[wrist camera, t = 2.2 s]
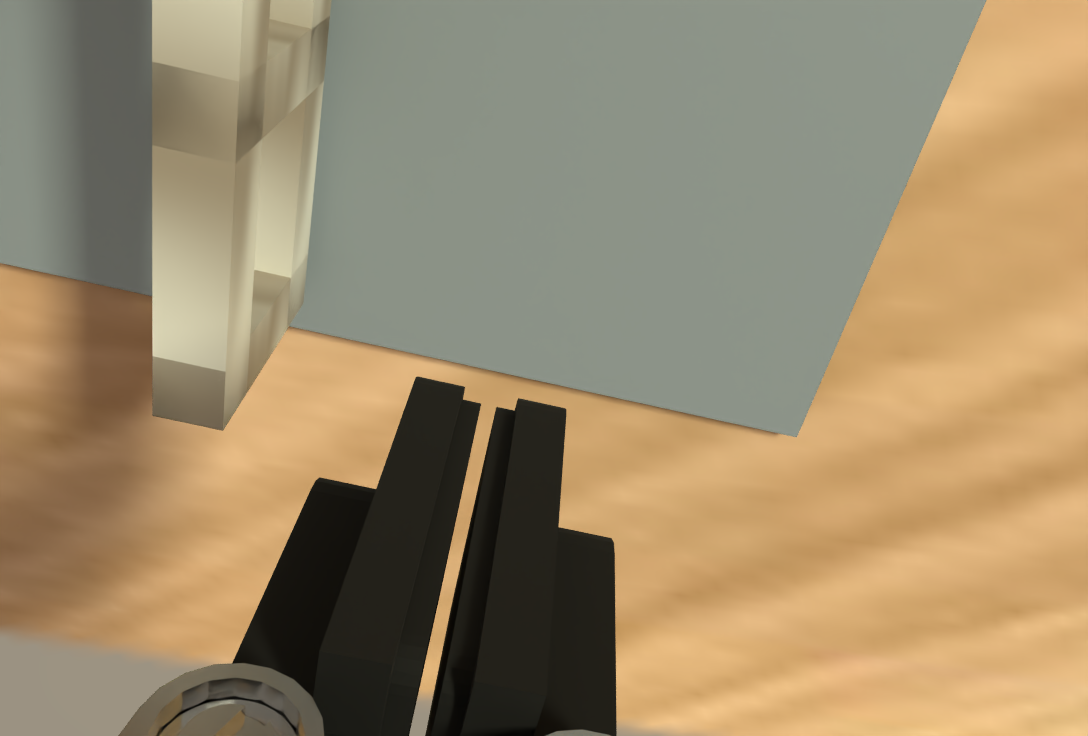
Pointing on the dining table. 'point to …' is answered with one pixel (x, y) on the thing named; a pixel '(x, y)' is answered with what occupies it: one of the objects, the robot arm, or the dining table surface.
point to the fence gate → (229, 191)
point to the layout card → (534, 178)
